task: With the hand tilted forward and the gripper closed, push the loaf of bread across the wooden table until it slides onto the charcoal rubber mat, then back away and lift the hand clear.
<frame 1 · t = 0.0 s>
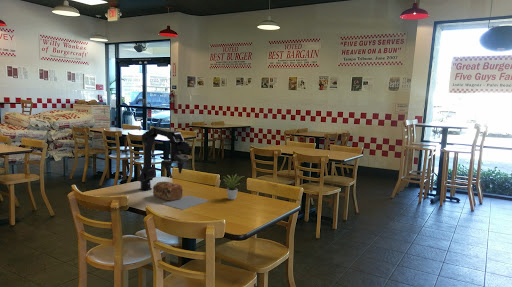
hand: (174, 174, 235), 15 cm above the table, tool pointing down, fingers open, 9 cm apart
bread: (167, 197, 234), on the table, touching serving mat
serving mat: (185, 202, 225), on the table
house plant: (233, 198, 238), on the table
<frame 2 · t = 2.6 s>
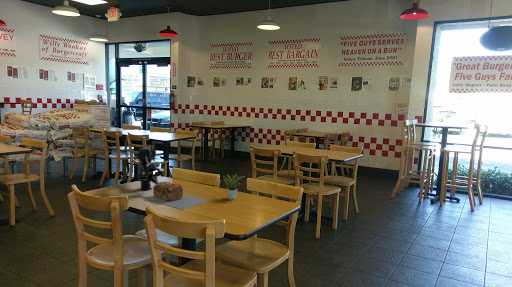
hand: (157, 184, 237), 8 cm above the table, tool tilted 45°, fingers closed, pressing on bread
bread: (167, 197, 233), on the table, touching gripper, serving mat
everything else where it was.
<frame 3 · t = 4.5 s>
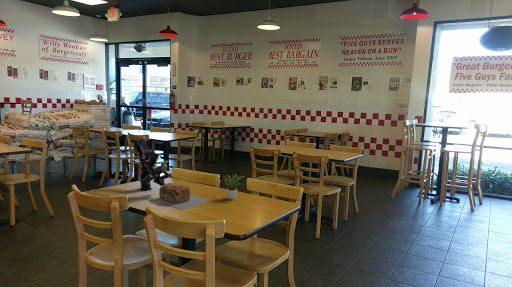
hand: (164, 186, 234), 7 cm above the table, tool tilted 45°, fingers closed
bread: (174, 199, 229), on the table, touching gripper
everything else where it was.
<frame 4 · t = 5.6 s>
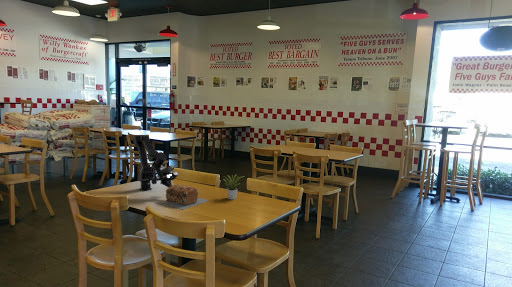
hand: (171, 188, 231), 7 cm above the table, tool tilted 45°, fingers closed
bread: (181, 201, 226), resting on serving mat
everything else where it was.
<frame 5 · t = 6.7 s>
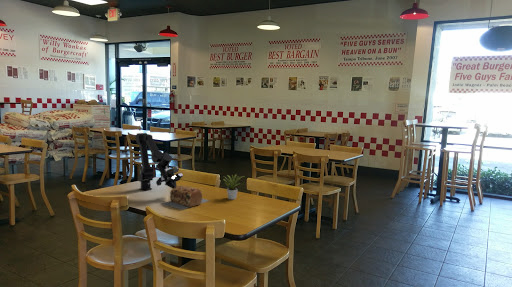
hand: (176, 189, 228), 7 cm above the table, tool tilted 45°, fingers closed
bread: (185, 203, 223), resting on serving mat, touching gripper
everything else where it was.
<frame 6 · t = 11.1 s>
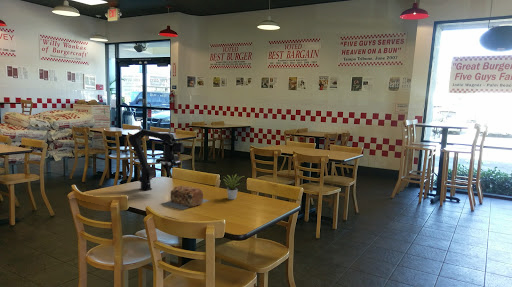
hand: (168, 174, 247), 12 cm above the table, tool pointing down, fingers closed
bread: (186, 203, 223), resting on serving mat
everything else where it was.
at the end: bread inside the target area on the serving mat (1.6 cm from its centre), point 0.0 cm above the serving mat's base; bread tilted 0° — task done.
